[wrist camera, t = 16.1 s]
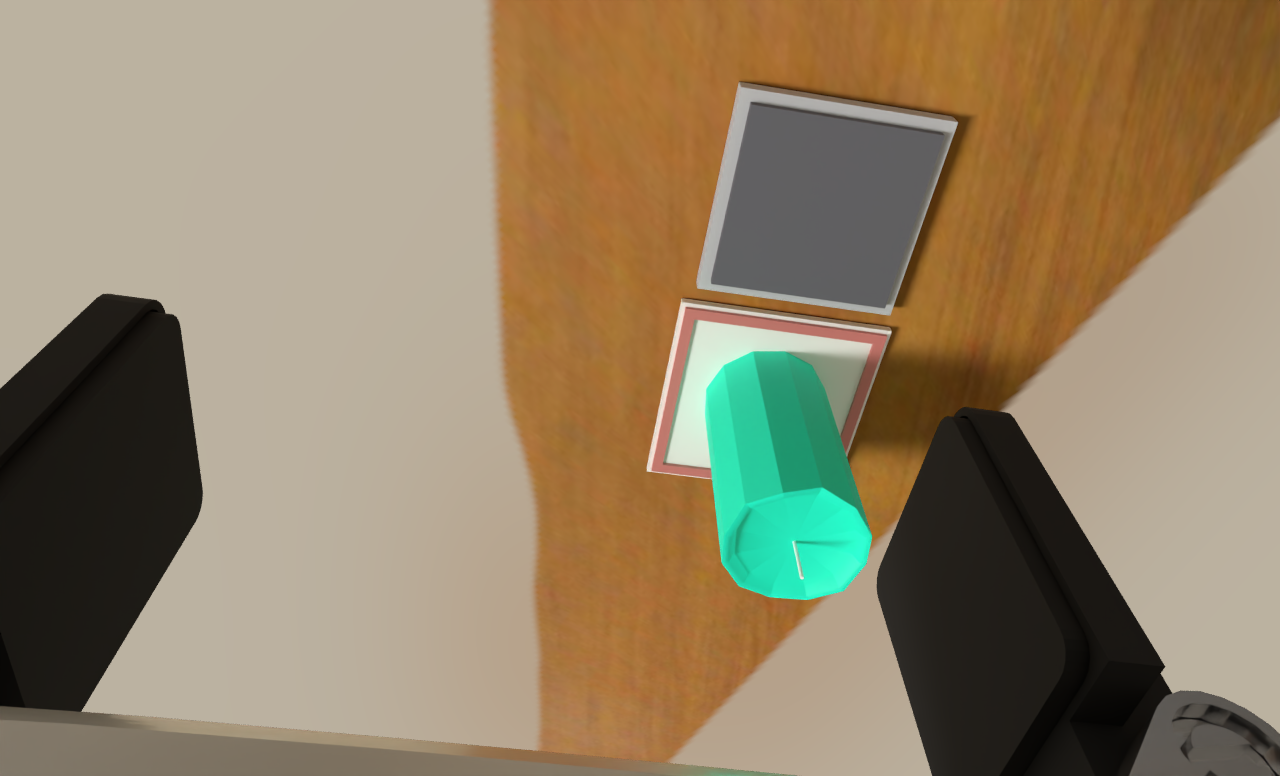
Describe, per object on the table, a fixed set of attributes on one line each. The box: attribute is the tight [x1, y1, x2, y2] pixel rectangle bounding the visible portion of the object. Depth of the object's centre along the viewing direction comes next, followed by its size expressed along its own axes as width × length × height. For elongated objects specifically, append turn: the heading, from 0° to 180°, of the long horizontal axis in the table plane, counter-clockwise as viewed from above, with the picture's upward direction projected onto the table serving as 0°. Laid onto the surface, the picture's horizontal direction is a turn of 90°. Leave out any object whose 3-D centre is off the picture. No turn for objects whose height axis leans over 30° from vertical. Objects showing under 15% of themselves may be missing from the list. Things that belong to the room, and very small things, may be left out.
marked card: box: [647, 298, 892, 479], centre depth 45 cm, size 10×10×1 cm
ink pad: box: [697, 82, 958, 315], centre depth 39 cm, size 9×9×1 cm
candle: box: [705, 351, 872, 600], centre depth 40 cm, size 6×6×12 cm
